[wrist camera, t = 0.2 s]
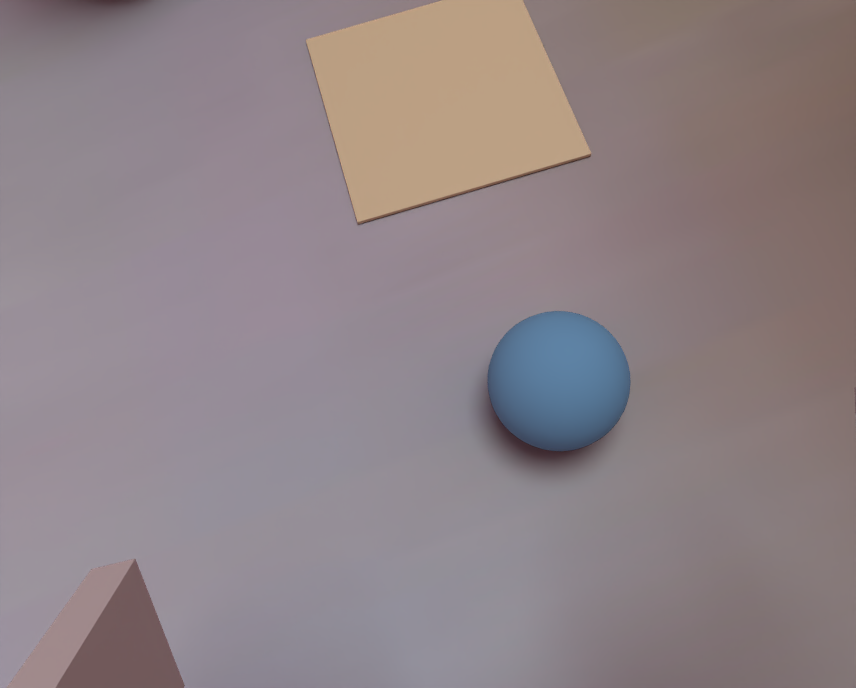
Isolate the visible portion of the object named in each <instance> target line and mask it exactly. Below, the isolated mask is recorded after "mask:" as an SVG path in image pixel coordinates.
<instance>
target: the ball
mask: <svg viewBox="0 0 856 688" xmlns="http://www.w3.org/2000/svg"><path fill="white" fill-rule="evenodd" d="M488 391H489V396H490V400H491V403H492V406H493V408H494V411H495V412H496V414H497V416H498V418H499V419H500V421H501V422H502V423H503V425H504V426H505V427H506V428H507V429H508V430H509V431H510V432H511V433H512V434H514V435H515V436H516V437H517V438H519V439H520V440H522V441H524V442H525V443H528V444H530V445H532V446H534V447H537V448H541V449H545V450H551V451H569V450H575V449H579V448H582V447H585V446H588V445H590V444H592V443H594V442H595V441H597V440H599V439H600V438H602V437H603V436H605V435H606V434H607V433H608V432H609V431H610V430H611V429H612V428H613V427H614V426H615V424H616V423H617V422H618V420H619V419H620V417H621V415H622V413H623V412H624V410H625V407H626V404H627V402H628V397H629V392H630V371H629V366H628V363H627V360H626V357H625V354H624V352H623V350H622V348H621V346H620V345H619V343H618V342H617V340H616V339H615V338H614V337H613V336H612V334H611V333H610V332H609V331H608V330H606V329H605V328H604V327H603V326H602V325H600V324H599V323H597V322H596V321H594V320H592V319H590V318H588V317H585V316H583V315H580V314H576V313H572V312H565V311H552V312H545V313H540V314H537V315H534V316H531V317H528V318H527V319H525V320H523V321H521V322H519V323H518V324H516V325H515V326H514V327H513V328H511V329H510V330H509V331H508V332H507V333H506V334H505V336H504V337H503V338H502V339H501V340H500V342H499V343H498V345H497V347H496V348H495V351H494V353H493V355H492V358H491V361H490V365H489V370H488Z"/></svg>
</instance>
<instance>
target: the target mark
mask: <svg viewBox="0 0 856 688" xmlns="http://www.w3.org/2000/svg"><path fill="white" fill-rule="evenodd" d="M306 42H307V46H308V49H309V53H310V56H311V60H312V63H313V67H314V71H315V74H316V78H317V81H318V85H319V88H320V92H321V95H322V99H323V102H324V106H325V109H326V113H327V116H328V120H329V124H330V127H331V131H332V134H333V138H334V141H335V145H336V148H337V152H338V155H339V159H340V162H341V166H342V169H343V173H344V177H345V180H346V184H347V187H348V191H349V194H350V198H351V201H352V205H353V208H354V212H355V215H356V219H357V222H358V224H361V223H364V222H368V221H371V220H374V219H378V218H381V217H385V216H388V215H391V214H395V213H398V212H402V211H405V210H408V209H412V208H415V207H419V206H422V205H426V204H429V203H432V202H436V201H439V200H443V199H446V198H449V197H453V196H456V195H460V194H463V193H466V192H470V191H473V190H477V189H480V188H483V187H487V186H490V185H494V184H497V183H500V182H504V181H507V180H511V179H514V178H517V177H521V176H524V175H528V174H531V173H534V172H538V171H541V170H545V169H548V168H552V167H555V166H558V165H562V164H565V163H569V162H572V161H575V160H579V159H582V158H586V157H589V156H591V152H590V150H589V147H588V145H587V143H586V141H585V138H584V136H583V134H582V132H581V130H580V127H579V125H578V123H577V121H576V118H575V116H574V114H573V112H572V109H571V107H570V105H569V103H568V100H567V98H566V96H565V94H564V92H563V89H562V87H561V85H560V83H559V80H558V78H557V76H556V74H555V71H554V69H553V67H552V65H551V63H550V60H549V58H548V56H547V54H546V51H545V49H544V47H543V45H542V42H541V40H540V38H539V36H538V33H537V31H536V29H535V27H534V25H533V22H532V20H531V18H530V16H529V13H528V11H527V9H526V7H525V4H524V2H523V0H442V1H439V2H435V3H432V4H428V5H425V6H421V7H418V8H414V9H411V10H407V11H404V12H400V13H397V14H393V15H390V16H386V17H383V18H379V19H376V20H373V21H369V22H366V23H362V24H359V25H355V26H352V27H348V28H345V29H341V30H338V31H334V32H331V33H327V34H324V35H320V36H317V37H314V38H310V39H307V40H306Z"/></svg>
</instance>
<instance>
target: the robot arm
mask: <svg viewBox="0 0 856 688" xmlns="http://www.w3.org/2000/svg"><path fill="white" fill-rule="evenodd" d="M855 413H856V387H855ZM184 686H185V685H184V683H183V680H182V678H181V675H180V673H179V670H178V667H177V665H176V662H175V660H174V657H173V655H172V652H171V649H170V647H169V644H168V642H167V639H166V637H165V634H164V631H163V629H162V626H161V624H160V621H159V619H158V616H157V613H156V611H155V608H154V606H153V603H152V601H151V598H150V595H149V593H148V590H147V588H146V585H145V583H144V580H143V577H142V575H141V572H140V570H139V567H138V565H137V562H136V559H132V560H128V561H124V562H119V563H115V564H111V565H107V566H103V567H98V568H94V569H91V571H90V572H89V573H88V575H87V576H86V578H85V579H84V580H83V582H82V583H81V585H80V586H79V587H78V589H77V590H76V592H75V593H74V594H73V596H72V597H71V599H70V600H69V601H68V603H67V604H66V606H65V607H64V608H63V610H62V611H61V613H60V614H59V615H58V617H57V618H56V620H55V621H54V622H53V624H52V625H51V627H50V628H49V629H48V631H47V632H46V633H45V635H44V636H43V638H42V639H41V640H40V642H39V643H38V645H37V646H36V647H35V649H34V650H33V652H32V653H31V654H30V656H29V657H28V659H27V660H26V661H25V663H24V664H23V666H22V667H21V668H20V670H19V671H18V673H17V674H16V675H15V677H14V678H13V680H12V681H11V682H10V684H9V685H8V687H7V688H184Z"/></svg>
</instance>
